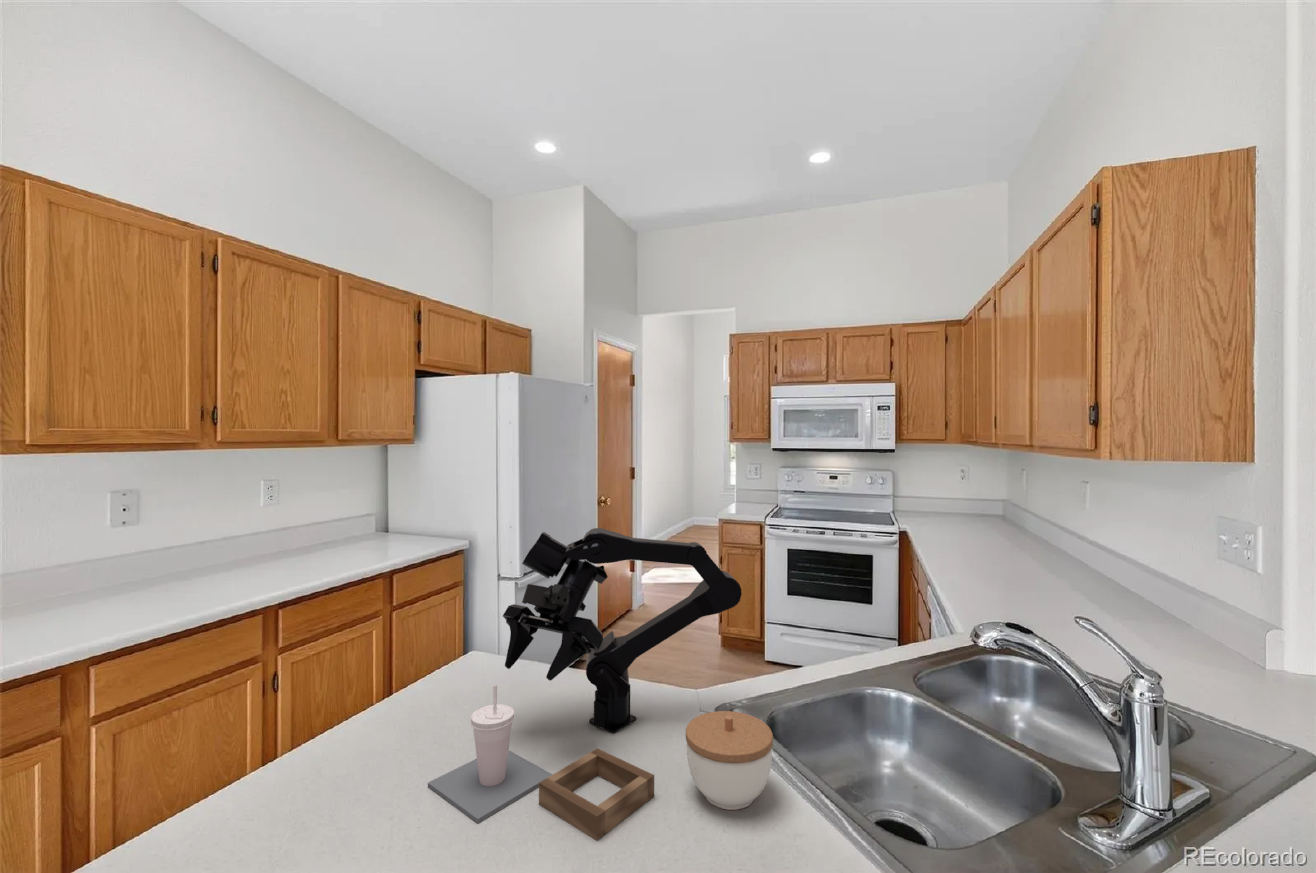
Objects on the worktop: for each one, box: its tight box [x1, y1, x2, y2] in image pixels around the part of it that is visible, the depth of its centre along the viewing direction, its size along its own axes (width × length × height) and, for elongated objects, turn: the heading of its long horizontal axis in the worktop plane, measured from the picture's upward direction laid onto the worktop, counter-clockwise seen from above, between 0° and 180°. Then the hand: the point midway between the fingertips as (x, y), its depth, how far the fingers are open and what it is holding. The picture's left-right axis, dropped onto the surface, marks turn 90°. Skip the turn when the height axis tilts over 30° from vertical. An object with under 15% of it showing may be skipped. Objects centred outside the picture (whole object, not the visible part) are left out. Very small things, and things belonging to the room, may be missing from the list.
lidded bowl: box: [685, 710, 774, 811], centre depth 80 cm, size 13×13×11 cm
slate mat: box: [427, 749, 554, 824], centre depth 83 cm, size 13×13×1 cm
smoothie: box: [469, 684, 516, 786], centre depth 83 cm, size 6×6×14 cm
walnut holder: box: [538, 748, 655, 841], centre depth 78 cm, size 12×12×3 cm
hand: (527, 673), depth 90 cm, fingers open, 9 cm apart
